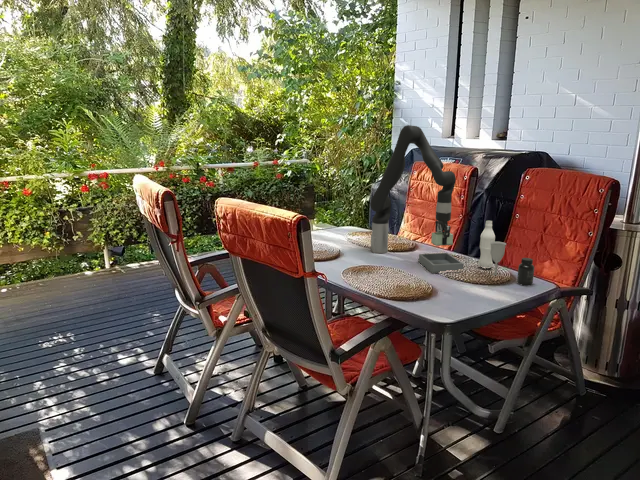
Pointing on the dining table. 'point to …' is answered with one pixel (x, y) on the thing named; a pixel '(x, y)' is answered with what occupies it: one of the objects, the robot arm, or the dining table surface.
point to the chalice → (497, 253)
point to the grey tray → (440, 262)
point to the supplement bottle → (525, 272)
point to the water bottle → (486, 245)
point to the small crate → (438, 239)
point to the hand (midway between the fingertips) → (441, 242)
